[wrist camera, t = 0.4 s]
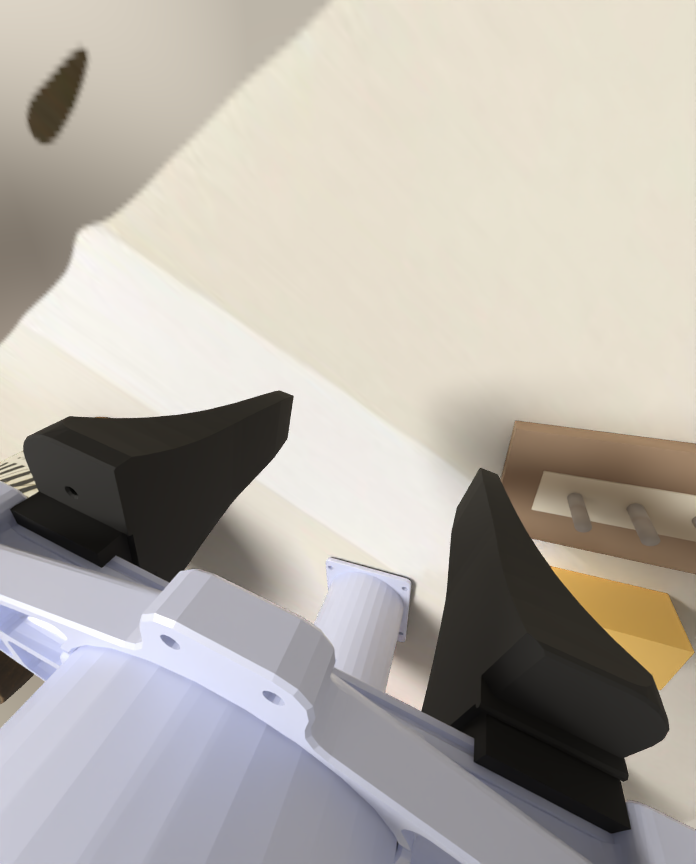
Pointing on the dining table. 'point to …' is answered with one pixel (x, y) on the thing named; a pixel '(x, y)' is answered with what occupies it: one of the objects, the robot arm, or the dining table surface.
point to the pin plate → (605, 492)
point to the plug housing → (634, 621)
